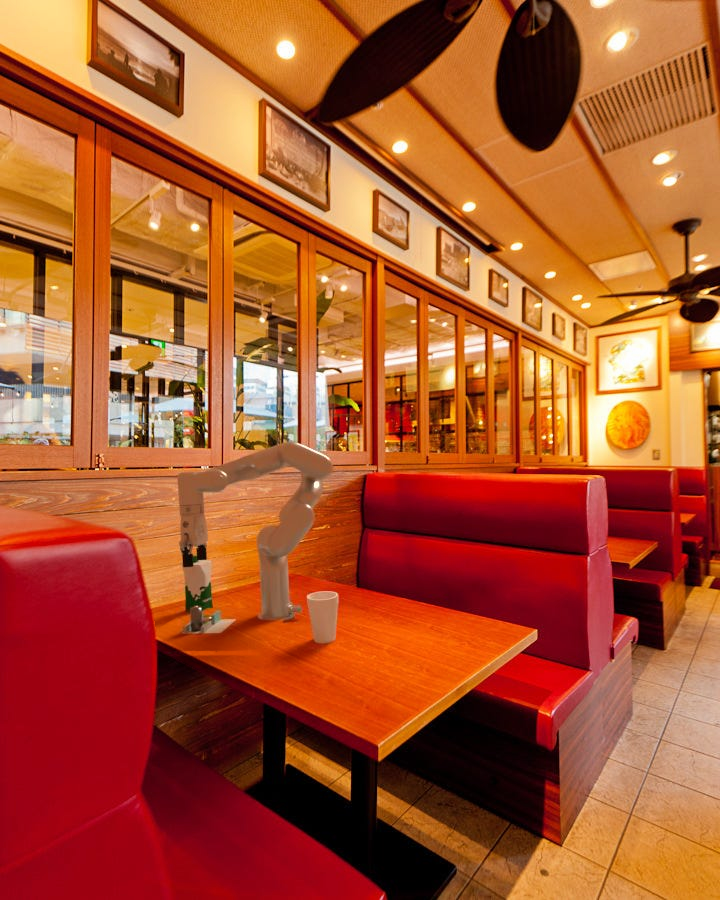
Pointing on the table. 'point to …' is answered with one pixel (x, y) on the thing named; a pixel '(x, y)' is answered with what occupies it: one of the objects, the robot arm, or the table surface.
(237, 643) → the table surface
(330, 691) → the table surface
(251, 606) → the table surface
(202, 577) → the milk carton
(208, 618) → the plunger
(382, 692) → the table surface
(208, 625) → the board
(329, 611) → the foam cup
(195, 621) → the cell
